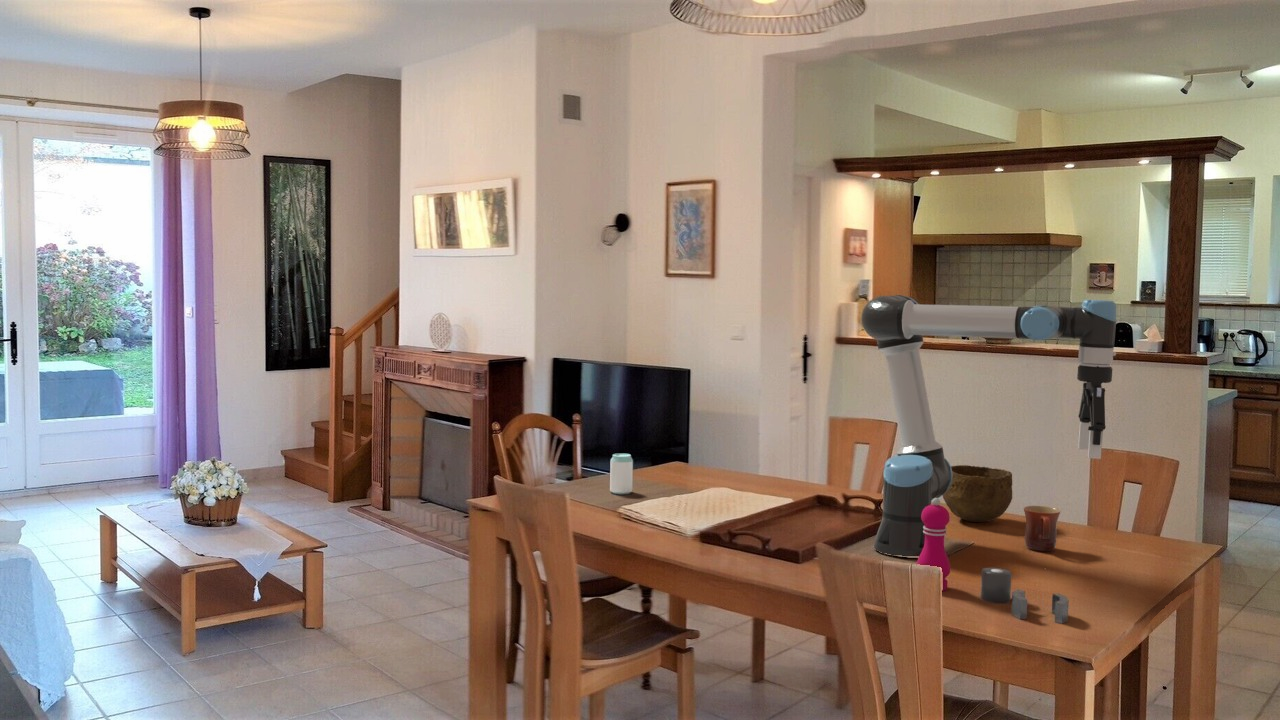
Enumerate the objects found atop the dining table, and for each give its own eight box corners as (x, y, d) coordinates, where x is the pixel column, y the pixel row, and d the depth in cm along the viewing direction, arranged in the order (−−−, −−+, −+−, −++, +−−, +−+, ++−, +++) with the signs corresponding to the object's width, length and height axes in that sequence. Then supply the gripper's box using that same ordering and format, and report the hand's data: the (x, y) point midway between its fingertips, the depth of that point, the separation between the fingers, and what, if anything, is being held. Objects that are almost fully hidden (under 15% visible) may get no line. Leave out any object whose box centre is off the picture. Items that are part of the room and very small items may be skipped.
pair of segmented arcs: (1012, 618, 206) (1013, 599, 206) (1010, 607, 213) (1011, 588, 213) (1069, 624, 203) (1070, 604, 203) (1064, 613, 210) (1066, 594, 210)
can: (607, 494, 320) (608, 456, 319) (612, 489, 327) (612, 452, 326) (630, 495, 318) (630, 457, 318) (634, 491, 325) (634, 453, 324)
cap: (981, 601, 217) (982, 573, 217) (980, 593, 223) (981, 565, 222) (1011, 604, 215) (1012, 575, 215) (1009, 596, 221) (1010, 568, 221)
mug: (1019, 543, 267) (1021, 504, 266) (1054, 545, 265) (1056, 506, 265) (1027, 555, 255) (1028, 514, 255) (1064, 557, 254) (1066, 517, 253)
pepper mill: (910, 582, 230) (914, 494, 228) (942, 582, 231) (945, 494, 229) (922, 592, 223) (926, 501, 221) (954, 592, 223) (958, 501, 222)
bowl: (1018, 520, 294) (1020, 468, 293) (1002, 532, 279) (1004, 478, 277) (952, 511, 304) (954, 461, 303) (933, 523, 289) (935, 470, 287)
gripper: (1123, 370, 230) (1116, 463, 232) (1102, 361, 255) (1096, 446, 256) (1087, 368, 232) (1081, 461, 234) (1070, 360, 256) (1064, 444, 258)
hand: (1089, 453), depth 245 cm, fingers open, 13 cm apart
